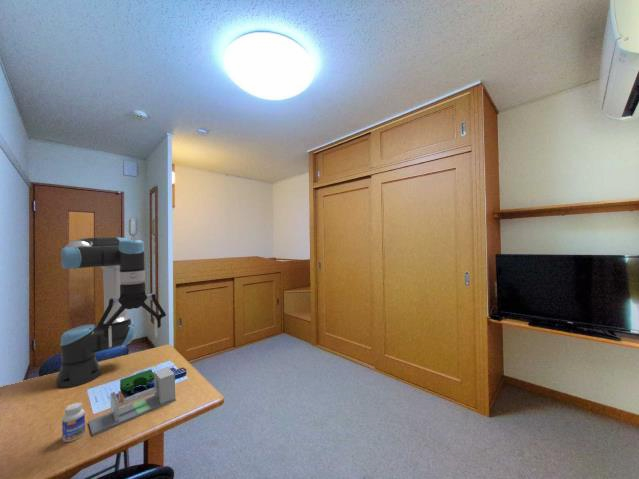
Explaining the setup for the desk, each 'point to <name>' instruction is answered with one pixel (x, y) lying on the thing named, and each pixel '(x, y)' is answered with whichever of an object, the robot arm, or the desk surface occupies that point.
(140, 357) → the desk surface
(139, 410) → the base
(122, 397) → the plunger
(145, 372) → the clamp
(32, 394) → the desk surface
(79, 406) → the pill bottle
